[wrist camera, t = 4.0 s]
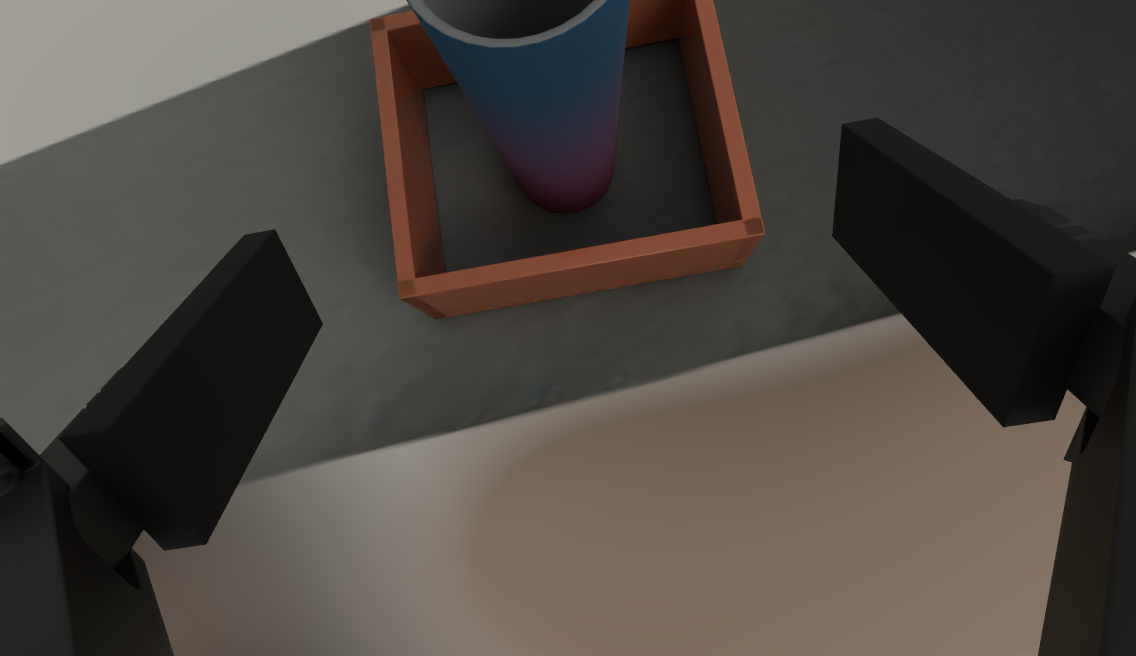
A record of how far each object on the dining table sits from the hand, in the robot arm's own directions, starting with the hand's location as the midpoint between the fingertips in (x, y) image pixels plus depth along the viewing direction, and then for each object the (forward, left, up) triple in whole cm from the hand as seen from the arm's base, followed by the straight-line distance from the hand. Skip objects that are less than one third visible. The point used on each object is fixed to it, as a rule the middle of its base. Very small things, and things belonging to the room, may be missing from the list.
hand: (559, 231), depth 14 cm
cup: (0, +9, -16) cm, 18 cm away
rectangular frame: (0, +9, -16) cm, 18 cm away
